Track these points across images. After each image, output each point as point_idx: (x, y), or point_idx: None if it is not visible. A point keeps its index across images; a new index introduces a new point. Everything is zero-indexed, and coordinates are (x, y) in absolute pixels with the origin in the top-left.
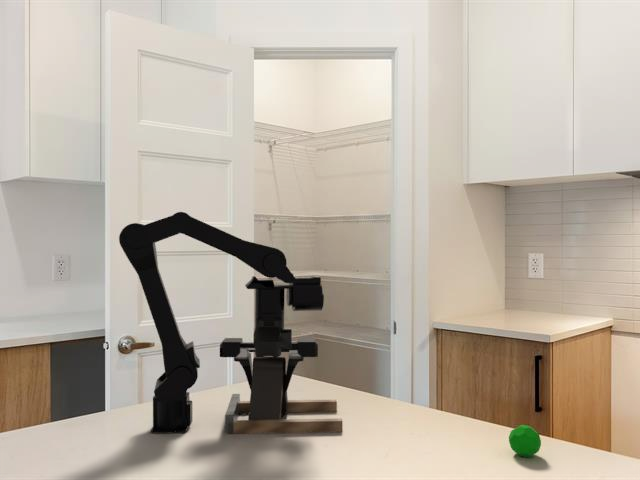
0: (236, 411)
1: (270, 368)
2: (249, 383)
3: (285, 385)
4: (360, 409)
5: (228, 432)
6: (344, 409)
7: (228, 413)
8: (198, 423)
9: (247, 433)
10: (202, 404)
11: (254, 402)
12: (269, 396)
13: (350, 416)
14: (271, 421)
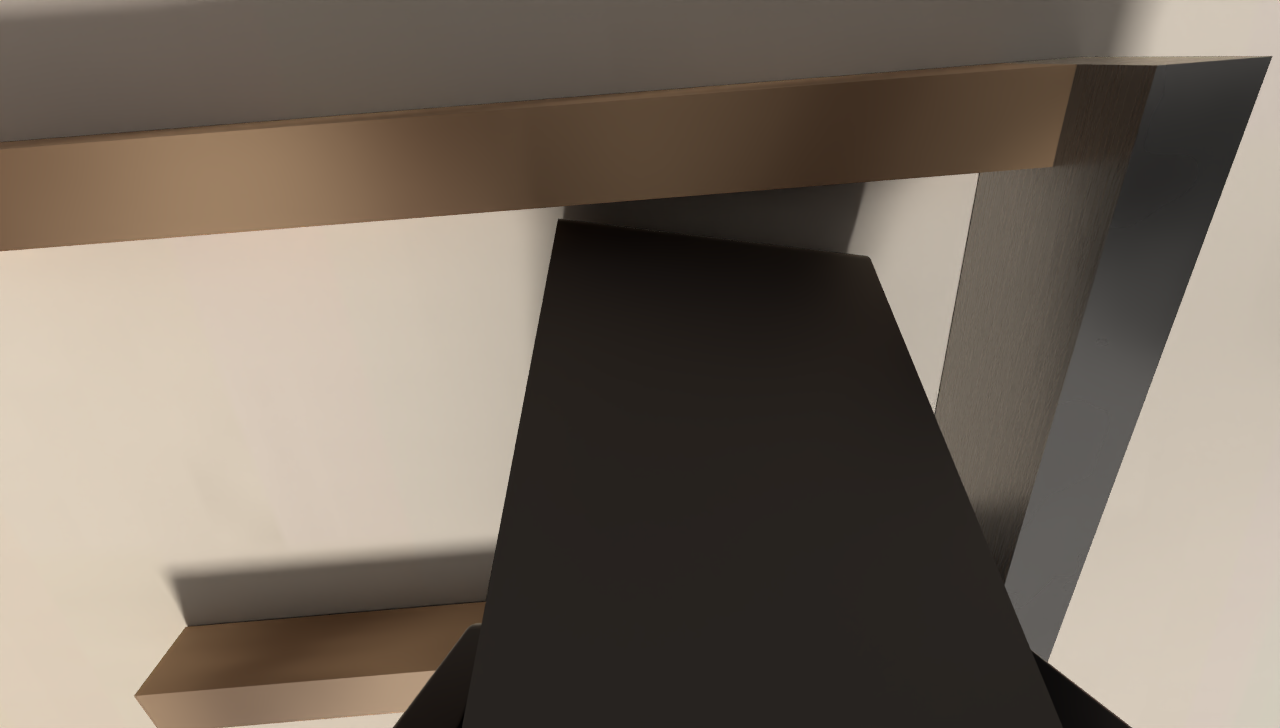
0: (1000, 416)
1: None
2: (1058, 681)
3: (463, 696)
4: (25, 666)
5: (1060, 59)
6: (145, 660)
7: (1209, 128)
8: (1254, 347)
9: (861, 74)
10: (1132, 689)
11: (875, 404)
12: (690, 459)
13: (30, 538)
14: (624, 128)
